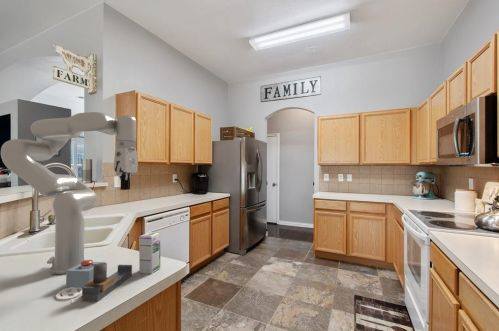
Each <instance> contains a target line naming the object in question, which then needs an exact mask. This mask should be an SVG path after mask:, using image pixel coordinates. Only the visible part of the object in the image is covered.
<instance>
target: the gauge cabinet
mask: <svg viewBox="0 0 499 331" xmlns="http://www.w3.org/2000/svg"><path fill="white" fill-rule="evenodd" d="M99 263H106V261H93V263H92V267H90V268H88V269H84V268H82V266H81V264H79V265H77V266H75V267H73V268H71V269H69V270H67V271H66V274H65V275H66V276H65V281H66V282H65V289H66V288H70V287H76V288H83V287H85V284H86V283H88V282H89V281H91V280H93V270H94V265H96V264H99Z"/></svg>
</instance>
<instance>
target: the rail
mask: <svg viewBox="0 0 499 331" xmlns="http://www.w3.org/2000/svg"><path fill="white" fill-rule="evenodd" d="M132 276H133V265H132V264H118V265H117V271H115V272H114V273H113V274H111V275H110V276H108V277H114V284H113V285H111V286H110V287H109V288H107V289H106V290H104V291H100V287H91V286H85V287H83V288H82V295H81V301H82V302H93V303H98V302H99V301H101V300H102V299H103V298H105V297H106V296H108V294H110V293H111V292H113V291H114V290H115V289H117V288H118V287H119V286H120V285H121V284H123V283H124V282H126V281H127V280H128V279H130V278H131V277H132Z"/></svg>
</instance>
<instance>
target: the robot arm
mask: <svg viewBox="0 0 499 331" xmlns="http://www.w3.org/2000/svg"><path fill="white" fill-rule="evenodd" d="M30 132H31V134H32V135H33V136H34V137H36V138H37V139H40V140H41V141H38V140H31V139H24V138H23V139H22V138H14V139H13V138H12V139H9V140H7V141H5V142H4V143H3V144H2V145H1V147H0V158H1V160H2V163H3V164H4V165H5V167H6V168H7V170H9V171H11V173H13V174H15V175H16V176H17V177H19V178H20V179H22V180H23V181H24V182H25V183H26V184H27V185H29V186H30V187H31V188H32V189H33V190H35V191H36V192H38V193H39V194H40V195H41V196H43V197H45V198H54V199H53V202H52V209H53V214H54V219H55V226H54V228H55V233H54V234H55V236H54V238H55V240H54V256H51V257H49V259H48V260H47V261H46V263H47V264H49V265H50V264H51V267H49V269H48V270H49V271H48V272H49V274H51V275H64V274H65V275H66V271H67V270H69V269H71V268H73V267H75V266H77V265H79V264H81V262H83V261H86V259H85V231H86V230H85V226H86V225H85V224H86V223H85V218H84V216H83V214H82V212H86V211H88V210H91V209H93V208H94V207H96V206H97V204H98V202H99V200H98V199H99V198H98V195H97V194H96V192H95V191H94V190H93V189H91V187H89V186H87V184H85V183H84V182H83V181H81V180H80V179H78V178H77V177H76V176H73V175H72V174H59V173H54V172H53V171H52V170H50V169H48V168H47V167H46V166H45V165H44V164H41V163H40V162H43V161H48V160H50V159H51V158H53V157H54V156H55V155H56V154H57V153H58V152H59V151H60V150H61V149H62V148H63V147H64V146H65V145H66V144H67V143H68V141H69V140H70V139H74V138H75V139H76V138H79V137H80V136H81V134H82V132H84V133H85V132H99V133H103V134H106V135H109V136H115V151H114V159H113V170H114V172H115V176H118V177H119V181H120V190H122V191H123V190H124V191H125V190H130V189H131V181H132V176H134V175H135V173H138V170H139V164H138V161H139V160H138V152H137V119H136V118H135V117H133V116H131V115H118V116H116V117H115V116H114V117H113V116H111V115H109V114H106V113H105V112H99V111H90V112H79V113H75V114H73V115H71V116H69V117H58V118H44V119H43V118H42V119H39V120H36V121H34V122H33V123H32V124H31V126H30Z"/></svg>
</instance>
